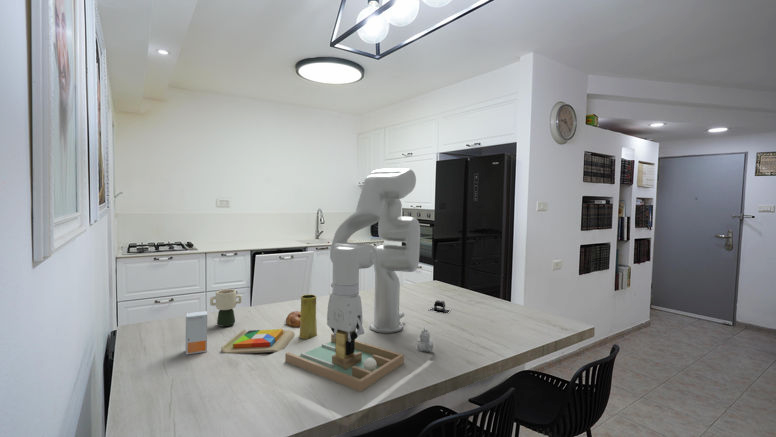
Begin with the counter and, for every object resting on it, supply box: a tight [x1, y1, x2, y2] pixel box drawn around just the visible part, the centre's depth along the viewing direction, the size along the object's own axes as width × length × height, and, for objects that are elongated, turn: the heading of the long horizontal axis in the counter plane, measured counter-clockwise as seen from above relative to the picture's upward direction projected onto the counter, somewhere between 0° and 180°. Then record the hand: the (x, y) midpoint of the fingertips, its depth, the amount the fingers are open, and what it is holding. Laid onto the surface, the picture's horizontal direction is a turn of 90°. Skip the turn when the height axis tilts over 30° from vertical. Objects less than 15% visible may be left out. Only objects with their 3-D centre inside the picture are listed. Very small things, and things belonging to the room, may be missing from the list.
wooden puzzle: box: [221, 328, 295, 355], centre depth 122 cm, size 18×19×4 cm
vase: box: [299, 293, 318, 340], centre depth 129 cm, size 6×6×14 cm
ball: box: [364, 358, 377, 372], centre depth 101 cm, size 4×4×4 cm
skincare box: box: [185, 310, 208, 356], centre depth 114 cm, size 6×4×12 cm
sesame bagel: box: [285, 310, 301, 328], centre depth 143 cm, size 12×11×4 cm
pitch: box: [284, 333, 405, 393], centre depth 106 cm, size 20×28×4 cm
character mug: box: [209, 288, 243, 327], centre depth 138 cm, size 11×7×13 cm, turn 113°
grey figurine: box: [416, 327, 434, 354], centre depth 117 cm, size 5×7×8 cm
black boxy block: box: [427, 299, 451, 314], centre depth 162 cm, size 12×7×5 cm, turn 64°
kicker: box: [332, 330, 362, 370], centre depth 105 cm, size 7×6×9 cm
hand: (344, 351), depth 106 cm, fingers closed on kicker, 3 cm apart
